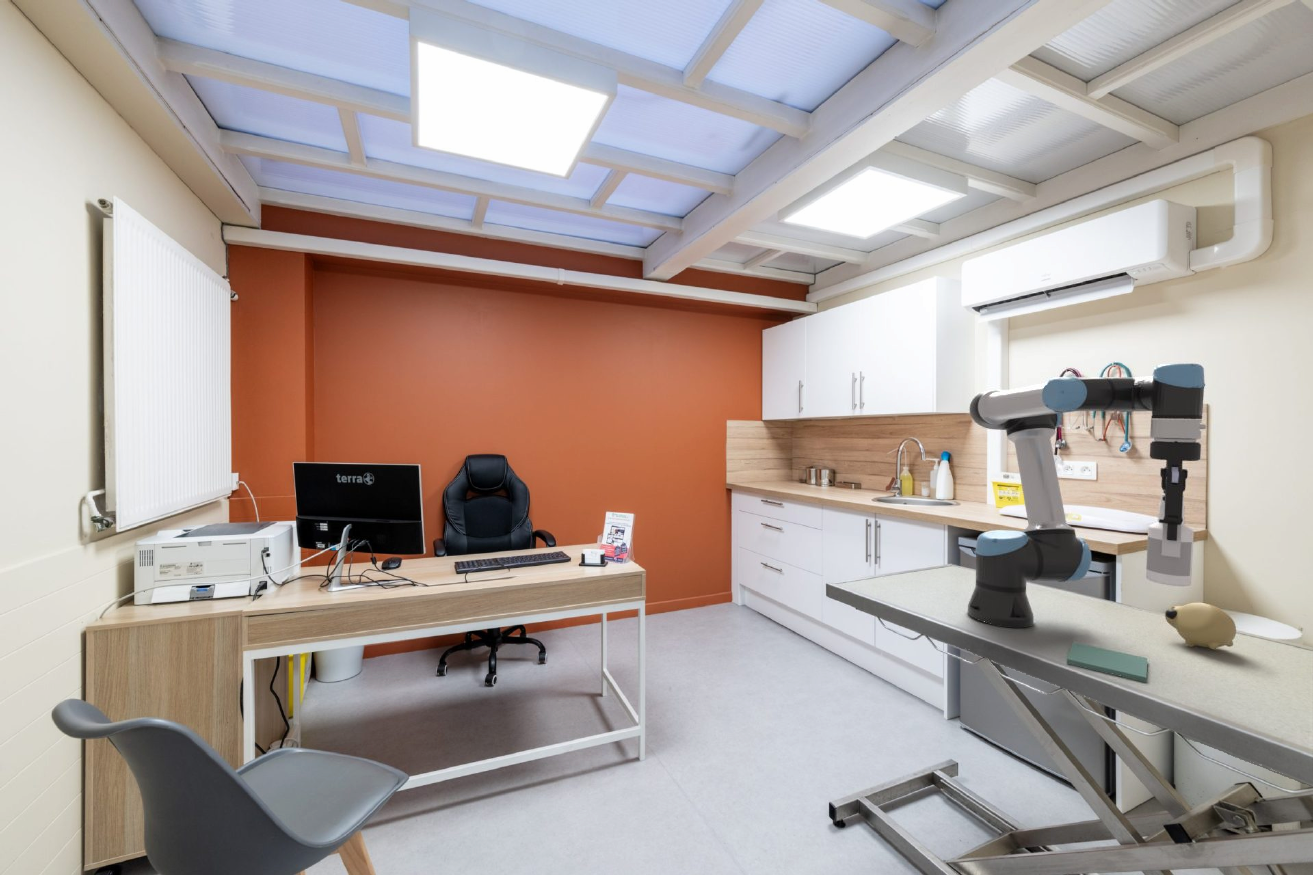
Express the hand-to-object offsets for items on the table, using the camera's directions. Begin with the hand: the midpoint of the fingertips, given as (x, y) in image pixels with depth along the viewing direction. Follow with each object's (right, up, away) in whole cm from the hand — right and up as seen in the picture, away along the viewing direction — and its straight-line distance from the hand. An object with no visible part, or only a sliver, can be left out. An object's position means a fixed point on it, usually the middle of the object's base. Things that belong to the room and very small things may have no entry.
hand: (1169, 552), depth 113 cm
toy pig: (+24, -26, +18) cm, 40 cm away
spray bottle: (0, -6, 0) cm, 6 cm away
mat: (-6, -26, +9) cm, 28 cm away
